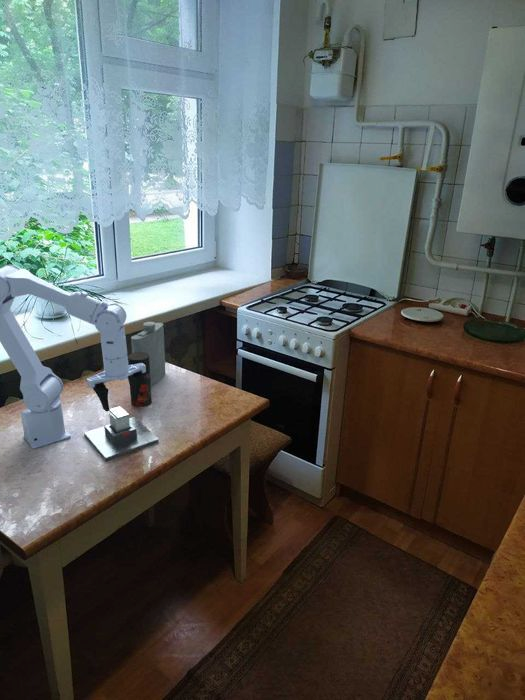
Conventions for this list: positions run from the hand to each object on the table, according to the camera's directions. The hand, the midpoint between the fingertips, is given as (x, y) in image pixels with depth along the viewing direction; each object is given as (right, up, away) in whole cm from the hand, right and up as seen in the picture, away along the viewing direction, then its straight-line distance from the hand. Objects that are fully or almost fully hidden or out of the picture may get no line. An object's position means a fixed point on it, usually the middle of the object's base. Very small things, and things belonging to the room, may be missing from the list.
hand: (120, 404), depth 124 cm
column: (-1, -9, +3) cm, 10 cm away
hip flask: (0, +3, +35) cm, 35 cm away
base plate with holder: (-1, -9, +3) cm, 10 cm away
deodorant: (0, -2, +22) cm, 22 cm away
